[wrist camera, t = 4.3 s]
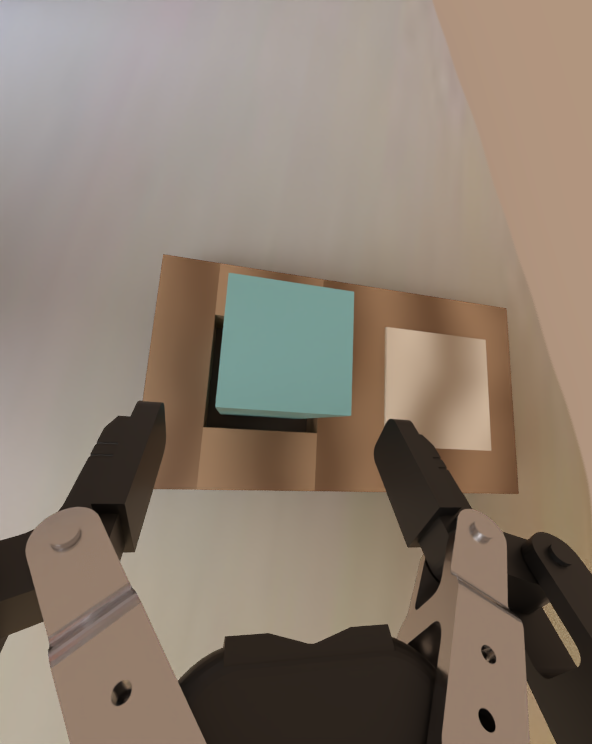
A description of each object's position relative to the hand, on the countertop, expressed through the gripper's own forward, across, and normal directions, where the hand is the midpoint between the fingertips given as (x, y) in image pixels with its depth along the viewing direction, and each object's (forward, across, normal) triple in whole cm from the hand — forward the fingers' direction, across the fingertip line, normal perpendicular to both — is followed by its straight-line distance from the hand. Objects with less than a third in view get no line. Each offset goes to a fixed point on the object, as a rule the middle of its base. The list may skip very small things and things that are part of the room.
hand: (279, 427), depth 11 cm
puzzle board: (+8, -5, +4) cm, 10 cm away
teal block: (+8, 0, +4) cm, 8 cm away
